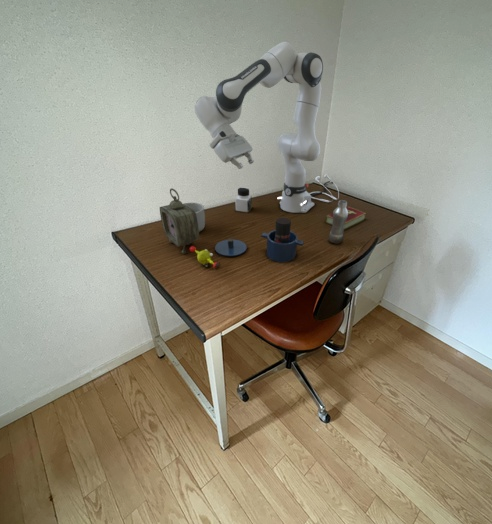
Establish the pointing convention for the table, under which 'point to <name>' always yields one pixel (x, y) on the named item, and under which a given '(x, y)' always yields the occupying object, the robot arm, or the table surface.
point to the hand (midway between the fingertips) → (247, 165)
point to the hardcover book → (349, 217)
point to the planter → (198, 214)
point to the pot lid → (230, 247)
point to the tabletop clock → (179, 222)
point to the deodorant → (282, 230)
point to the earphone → (326, 188)
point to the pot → (281, 247)
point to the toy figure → (204, 257)
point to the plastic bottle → (338, 222)
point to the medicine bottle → (243, 200)
